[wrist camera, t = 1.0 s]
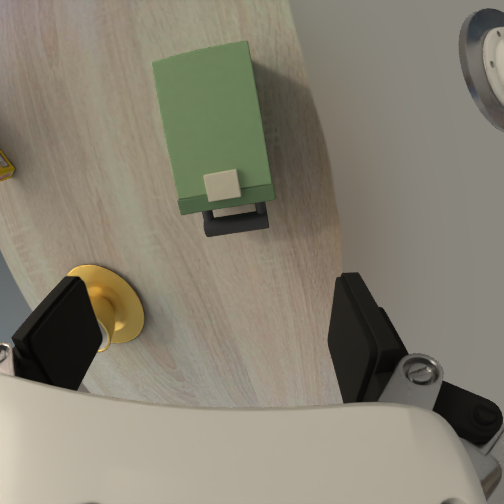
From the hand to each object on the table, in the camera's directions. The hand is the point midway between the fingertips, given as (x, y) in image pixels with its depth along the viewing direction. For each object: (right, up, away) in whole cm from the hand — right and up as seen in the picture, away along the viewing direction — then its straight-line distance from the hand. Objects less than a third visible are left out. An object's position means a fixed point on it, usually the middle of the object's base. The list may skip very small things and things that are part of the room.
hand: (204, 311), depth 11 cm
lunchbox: (-2, +18, +10) cm, 21 cm away
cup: (-17, -5, +25) cm, 31 cm away
